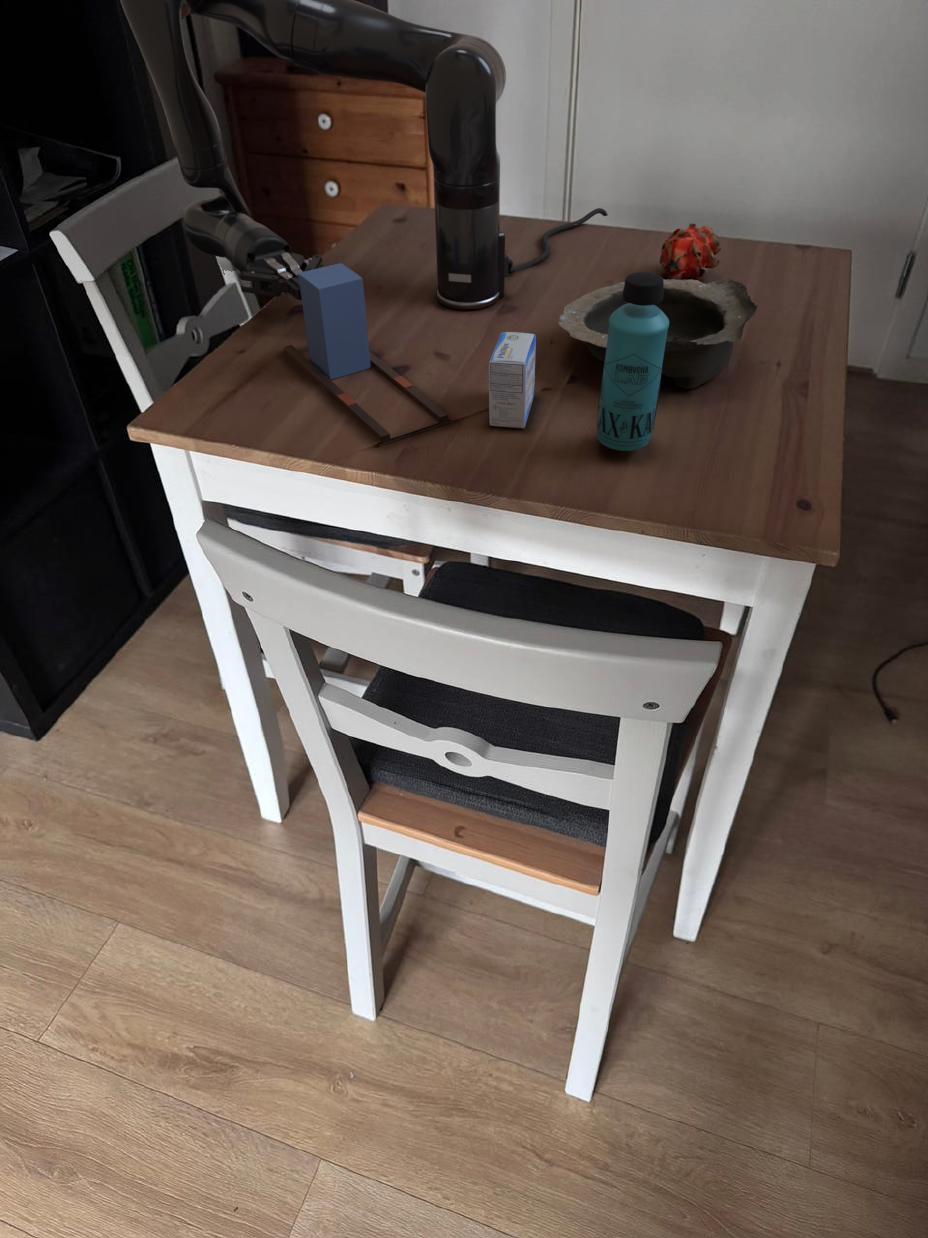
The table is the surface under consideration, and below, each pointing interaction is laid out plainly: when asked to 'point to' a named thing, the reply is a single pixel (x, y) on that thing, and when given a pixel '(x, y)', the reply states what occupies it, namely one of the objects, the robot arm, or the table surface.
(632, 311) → the beverage bottle
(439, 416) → the track
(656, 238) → the table surface
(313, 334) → the block
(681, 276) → the dragon fruit
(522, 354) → the medicine box
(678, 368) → the stone bowl
